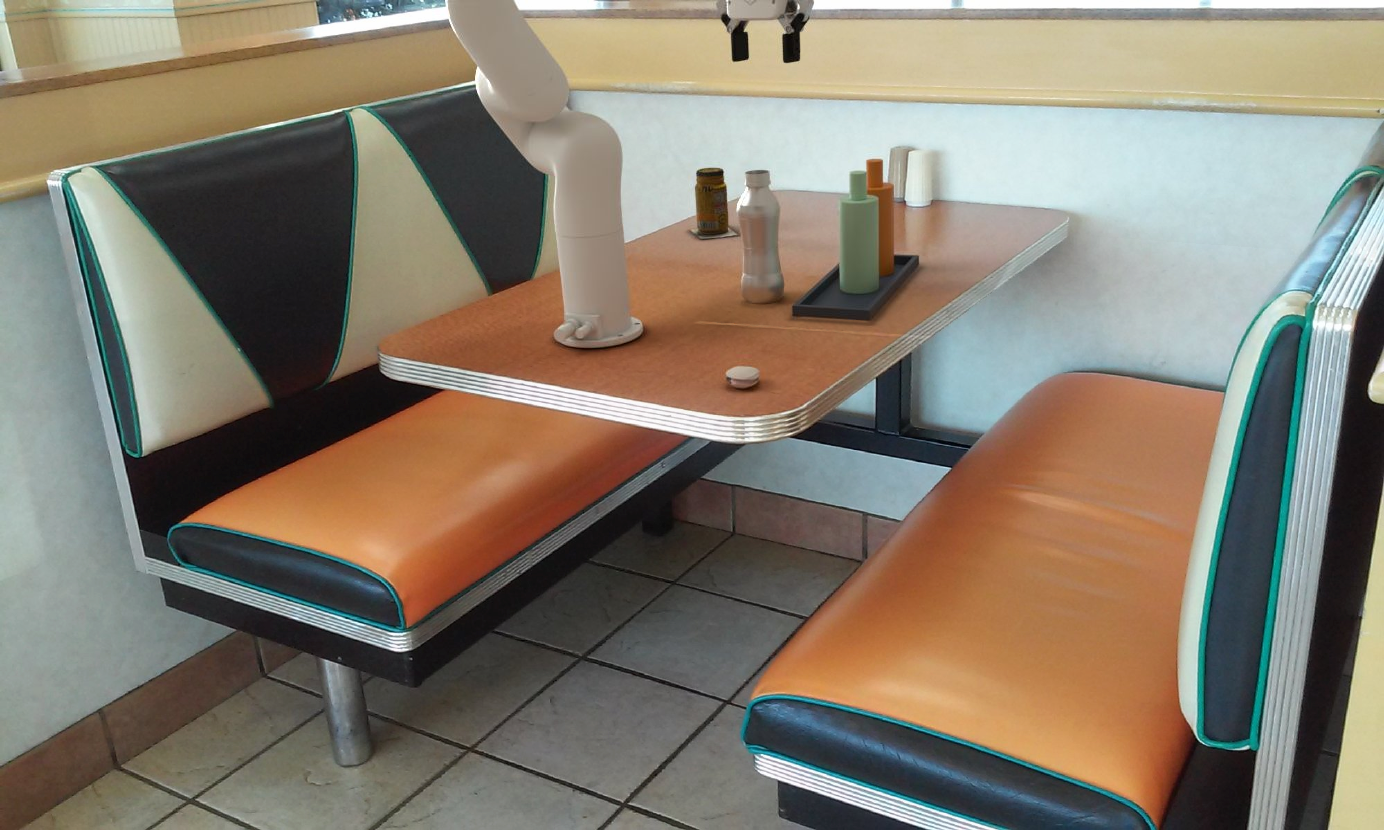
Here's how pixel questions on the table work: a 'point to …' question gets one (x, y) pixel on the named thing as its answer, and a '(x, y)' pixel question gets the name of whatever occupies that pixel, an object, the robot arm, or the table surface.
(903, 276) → the tray
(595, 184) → the robot arm
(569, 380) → the table surface
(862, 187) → the sage bottle
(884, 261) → the amber bottle
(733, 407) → the table surface
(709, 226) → the condiment
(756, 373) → the macaroon
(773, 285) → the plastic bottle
